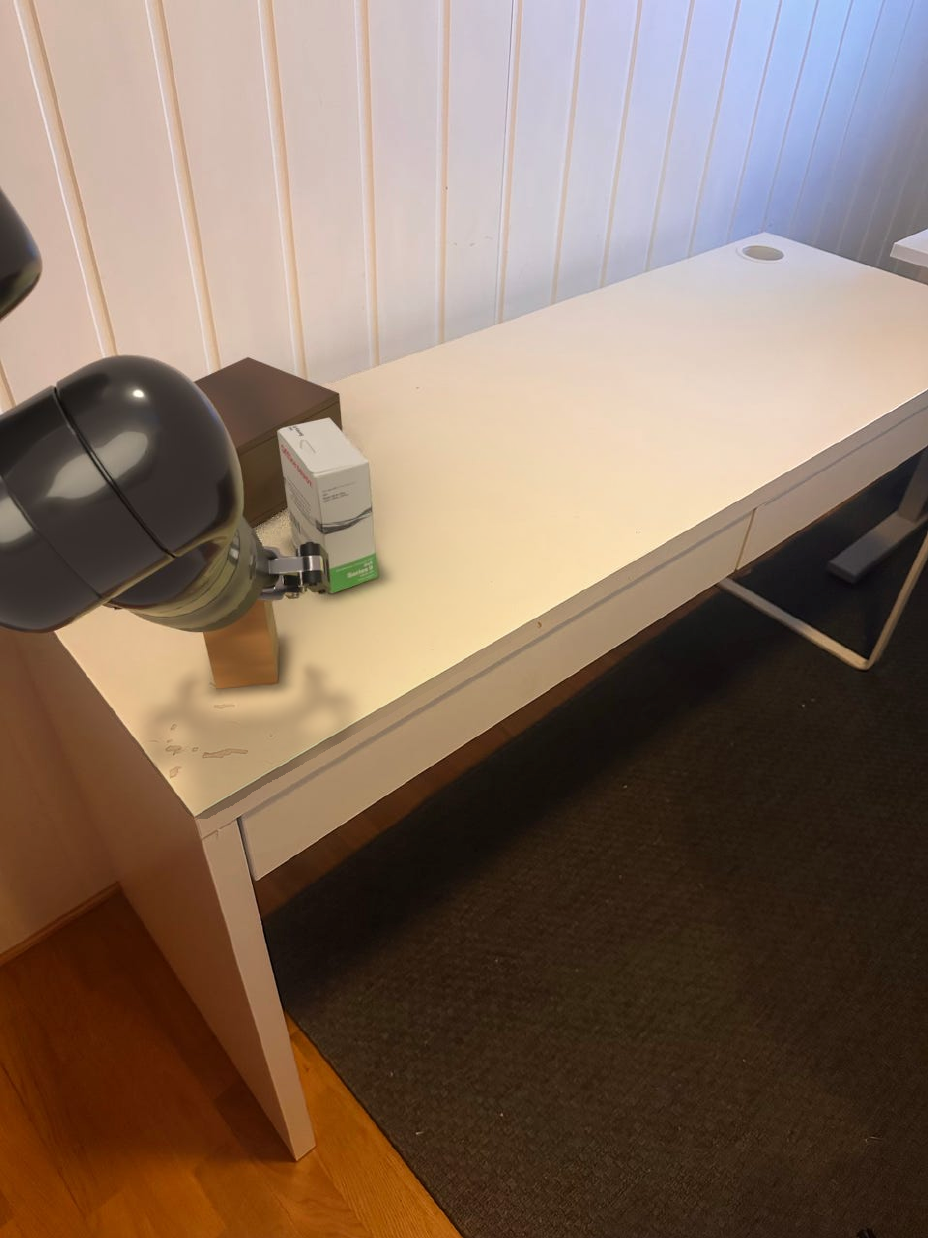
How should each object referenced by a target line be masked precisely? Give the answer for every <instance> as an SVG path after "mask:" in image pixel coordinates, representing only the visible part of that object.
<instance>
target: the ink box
mask: <svg viewBox="0 0 928 1238" xmlns="http://www.w3.org/2000/svg"><path fill="white" fill-rule="evenodd" d="M277 434H278V441H279V448H280V455H281V462H282V469H283V476H284V483H285V490H286V498H287V505H288V507H287V511H288V518H289V526H290V527H289V528H290V535H291V542H292V545H293V547H294V549H296V548H300V545H301V544H306V542H314V543H319V544H320V545H321V546H322V547H323V549H324V550H325V551H326V552H327V553H328V556H329V569H330V581H331V583H330V584H331V591H328V592H327V593H329V594H335V593H337V592H339V591H343V590H346V589H349V588H352V587H355V586H357V585H360V584H362V583H366V582H368V581H371V580H373V579H375V578H378V576H379V573H378V562H377V549H376V536H375V535H376V534H375V525H374V521H375V520H374V511H373V509H374V508H373V495H372V482H371V471H370V470H371V469H370V461H369V460H368V458H366V457H365V456H364V454H363V453H362V452H361V451H360V450H359V449H358V448H357V447H356V446H355V445H354V443H353V442H352V441H351V440H350V439H349V438H348V436H347V435H346V434H345V433H344V431H343V432H342V431H341V430H340V429H339V428H338V427H337V426H336V424H335V423H334V422H333V421H332V420H331V419H330V418H325V419H320V420H316V421H311V422H307V423H302V424H297V425H293V426H288V427H284V428H281V429H280V430H278V431H277Z"/></svg>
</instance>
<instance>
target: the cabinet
mask: <svg viewBox="0 0 928 1238" xmlns="http://www.w3.org/2000/svg"><path fill="white" fill-rule="evenodd" d="M193 382H194V383H195V384H196V385H197V386H198V387H199V388H200V389H201V390H202V391H203V392H204V394H205V395H206V396H207V397H208V399H209V400H210V401H211V402H212V404H213V405H214V407H215V408H216V410H217V411H218V413H219V415H220V416H221V418H222V420H223V422H224V424H225V425H226V427H227V430H228V432H229V434H230V436H231V438H232V441H233V444H234V446H235V449H236V453H237V456H238V460H239V463H240V467H241V473H242V479H243V488H244V507H243V514H242V516H243V517H244V518H245V519H246V521H247V522H248V523H249V525H250V526H251V527H252V528H253V529H254V528H256V527H257V526H259V525H261V524H262V523H264V522H266V521H267V520H269V519H271V518H272V517H274V516H276V515H277V514H279V513H280V512H282V511H283V510H285V509H288V505H287V498H286V490H285V483H284V476H283V469H282V462H281V455H280V448H279V441H278V434H277V431H278V430H280V429H281V428H284V427H288V426H293V425H297V424H302V423H307V422H311V421H316V420H320V419H325V418H330V419H331V420H332V421H333V422H334V423H335V424H336V426H337V427H338V428H339V429H340V430H341V431H342V432H343V433H344V430H343V421H342V408H341V407H342V406H341V395H340V393H339V392H337V391H335V390H332V389H330V388H327V387H324V386H322V385H319V384H317V383H315V382H312V381H309V380H307V379H304V378H302V377H299V376H296V375H294V374H292V373H289V372H287V371H284V370H281V369H279V368H277V367H274V366H272V365H270V364H267V363H264V362H262V361H259V360H257V359H254V358H252V357H250V356H247V357H244V358H241V359H239V360H238V361H236V362H234V363H231V364H229V365H227V366H225V367H223V368H220V369H218V370H216V371H214V372H212V373H210V374H207V375H205V376H203V377H201V378H199V379H197V380H195V381H193Z"/></svg>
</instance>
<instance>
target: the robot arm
mask: <svg viewBox="0 0 928 1238" xmlns="http://www.w3.org/2000/svg"><path fill="white" fill-rule="evenodd" d="M43 266H44V265H43V258H42V254H41V251H40V249H39V246H38V243H37V242H36V240H35V238H34V237H33V235H32V233H31V231H30V229H29V226H28V225H27V224H26V222H25V221H24V219H23V217H22V216H21V215H20V212H18V210H17V209H16V207H15V205H13V203H12V201H11V199H10V198H9V197H8V194H6V192H5V191H4V189H3V188H2V187H1V185H0V324H1V323H2V322H3V321H4V320H5V319H6V318H8V317H9V316H10V315H11V314H12V313H13V312H14V311H15V310H17V308H18V307H19V306H21V305H22V304H23V303H24V302H25V301H26V299H27V298H28V297H29V296H30V295H31V294H32V293H33V291H34V290H35V289H36V287H37V286H38V284H39V282H40V280H41V277H42V275H43ZM243 507H244V488H243V479H242V473H241V467H240V463H239V460H238V456H237V453H236V449H235V446H234V444H233V441H232V438H231V436H230V434H229V432H228V430H227V427H226V425H225V424H224V422H223V420H222V418H221V416H220V415H219V413H218V411H217V410H216V408H215V407H214V405H213V404H212V402H211V401H210V400H209V399H208V397H207V396H206V395H205V394H204V392H203V391H202V390H201V389H200V388H199V387H198V386H197V385H196V384H195V383H194V381H193V380H192V379H191V378H190V377H188V376H187V375H186V374H185V373H183V372H182V371H181V370H179V369H177V368H176V367H174V366H172V365H171V364H169V363H166V362H163V361H161V360H159V359H157V358H155V357H150V356H144V355H140V354H116V355H115V354H114V355H110V356H106V357H103V358H100V359H97V360H94V361H92V362H90V363H88V364H86V365H84V366H82V367H80V368H78V369H76V370H75V371H73V372H72V373H70V374H68V375H66V376H64V377H62V378H61V379H59V380H57V381H56V384H55V385H49V386H47V387H45V388H44V389H41V390H40V391H39V392H37V393H35V394H34V395H32V396H30V397H29V398H26V399H25V400H24V401H22V402H20V403H18V404H17V405H15V406H13V407H11V408H9V409H8V410H6V411H4V412H3V413H1V414H0V627H2V628H4V629H8V630H12V631H17V632H20V633H24V634H39V635H40V634H47V633H52V632H55V631H58V630H60V629H63V628H66V627H67V626H69V625H72V624H73V623H75V622H77V621H79V620H80V619H82V618H84V617H85V616H87V615H89V614H90V613H92V612H93V611H95V610H97V609H99V608H100V607H102V606H103V607H106V608H108V609H113V610H115V611H119V610H125V611H128V612H130V613H131V614H133V615H135V616H136V617H138V618H141V619H143V620H145V621H148V622H150V623H153V624H157V625H160V626H163V627H168V628H171V629H175V630H179V631H183V632H187V633H188V632H189V633H203V632H210V631H215V630H218V629H221V628H224V627H227V626H229V625H231V624H232V623H234V622H236V621H237V620H239V619H240V618H241V617H243V616H244V615H245V614H246V613H247V612H248V611H249V610H250V609H251V607H252V606H253V605H254V603H255V602H270V601H272V602H276V601H281V600H283V599H284V597H286V598H287V599H288V600H294V599H299V598H300V596H301V595H305V593H306V592H308V590H309V591H310V592H312V593H318V595H325V594H327V593H329V592H328V591H331V584H330V583H331V581H330V569H329V556H328V553H327V552H326V551H325V550H324V549H323V547H322V546H321V545H320V544H319V543H314V542H306V544H301V545H300V548H294V551H295V552H294V555H284V554H282V552H281V550H280V549H279V548H278V547H275V546H266V545H263V543H262V544H261V542H262V541H261V540H260V537H259V536H258V534H257V533H256V531H255V530H254V528H252V527H251V526H250V525H249V523H248V522H247V521H246V519H245V518H244V517H243V516H242V514H243Z"/></svg>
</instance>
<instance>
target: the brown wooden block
mask: <svg viewBox="0 0 928 1238" xmlns="http://www.w3.org/2000/svg"><path fill="white" fill-rule="evenodd" d="M261 544H262V545H263V542H262V541H261ZM202 636H203V640H204V644H205V648H206V652H207V657H208V661H209V666H210V669H211V673H212V677H213V681H214V686H215V688H216V689H217V690H219V689H229V688H238V687H239V688H240V687H251V686H252V687H253V686H262V685H274V684H278V683H279V654H280V653H279V652H280V651H279V649H280V641H279V635H278V630H277V624H276V617H275V611H274V606H273V601H270V602H255V603H254V605H253V606H252V607H251V609H250V610H249V611H248V612H247V613H246V614H245V615H244V616H243V617H241V618H240V619H239V620H237V621H236V622H234V623H232V624H231V625H229V626H227V627H224V628H221V629H218V630H215V631H210V632H202Z"/></svg>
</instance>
